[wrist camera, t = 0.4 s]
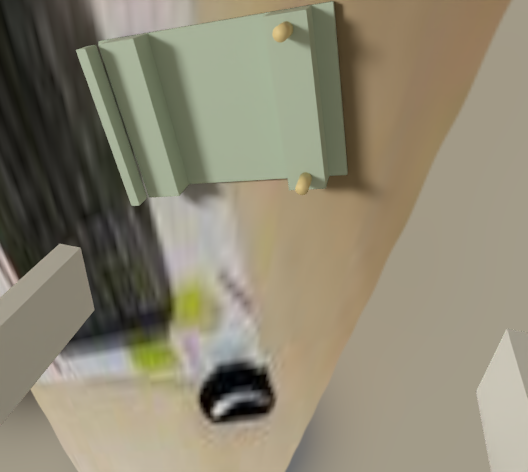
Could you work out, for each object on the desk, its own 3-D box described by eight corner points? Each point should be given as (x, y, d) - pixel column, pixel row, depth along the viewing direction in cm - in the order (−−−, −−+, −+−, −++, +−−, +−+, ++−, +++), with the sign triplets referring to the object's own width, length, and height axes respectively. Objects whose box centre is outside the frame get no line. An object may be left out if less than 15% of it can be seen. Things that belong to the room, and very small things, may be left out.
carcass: (102, 40, 37) (66, 52, 33) (333, 0, 31) (325, 9, 27) (149, 183, 43) (124, 208, 39) (347, 171, 38) (342, 199, 34)
